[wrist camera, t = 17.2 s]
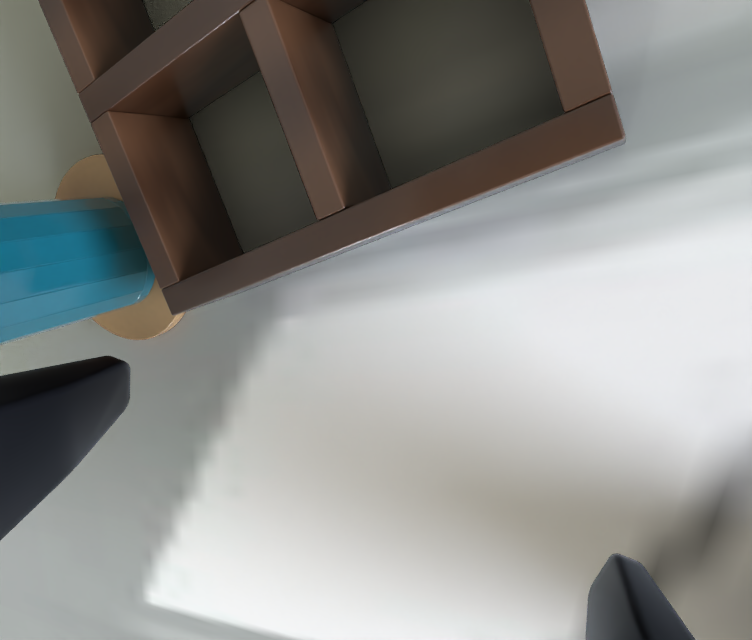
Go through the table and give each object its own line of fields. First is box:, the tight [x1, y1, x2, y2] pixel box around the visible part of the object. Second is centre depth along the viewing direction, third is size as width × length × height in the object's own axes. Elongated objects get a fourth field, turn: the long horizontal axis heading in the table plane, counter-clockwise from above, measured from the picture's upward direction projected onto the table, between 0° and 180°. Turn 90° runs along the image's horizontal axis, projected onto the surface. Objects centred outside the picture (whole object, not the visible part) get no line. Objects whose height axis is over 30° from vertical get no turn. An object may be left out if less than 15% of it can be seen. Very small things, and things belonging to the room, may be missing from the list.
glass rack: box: [38, 0, 626, 316], centre depth 17 cm, size 16×16×4 cm
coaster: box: [55, 154, 185, 340], centre depth 26 cm, size 9×9×1 cm
